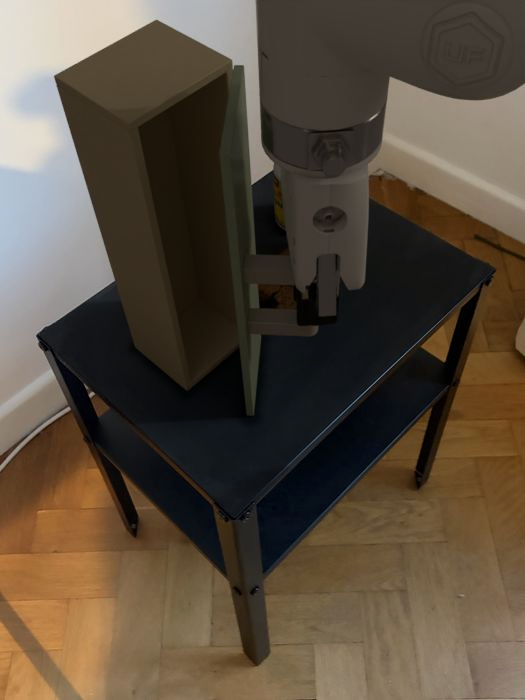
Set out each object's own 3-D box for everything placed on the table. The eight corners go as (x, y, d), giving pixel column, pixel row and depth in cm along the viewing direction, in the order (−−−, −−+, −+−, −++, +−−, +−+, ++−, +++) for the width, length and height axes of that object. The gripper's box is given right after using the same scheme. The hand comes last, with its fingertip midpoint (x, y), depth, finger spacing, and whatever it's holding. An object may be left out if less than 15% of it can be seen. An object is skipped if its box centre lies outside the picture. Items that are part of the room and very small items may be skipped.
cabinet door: (317, 339, 75) (328, 65, 50) (314, 418, 69) (325, 155, 44) (254, 337, 75) (233, 64, 50) (246, 415, 70) (218, 153, 44)
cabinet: (253, 335, 75) (232, 59, 50) (187, 391, 72) (127, 123, 46) (201, 295, 79) (156, 18, 54) (134, 347, 75) (53, 75, 50)
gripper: (409, 202, 40) (377, 387, 54) (362, 41, 49) (346, 237, 64) (271, 213, 39) (277, 396, 54) (251, 50, 49) (261, 244, 64)
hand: (314, 309), depth 59 cm, fingers closed on cabinet door
